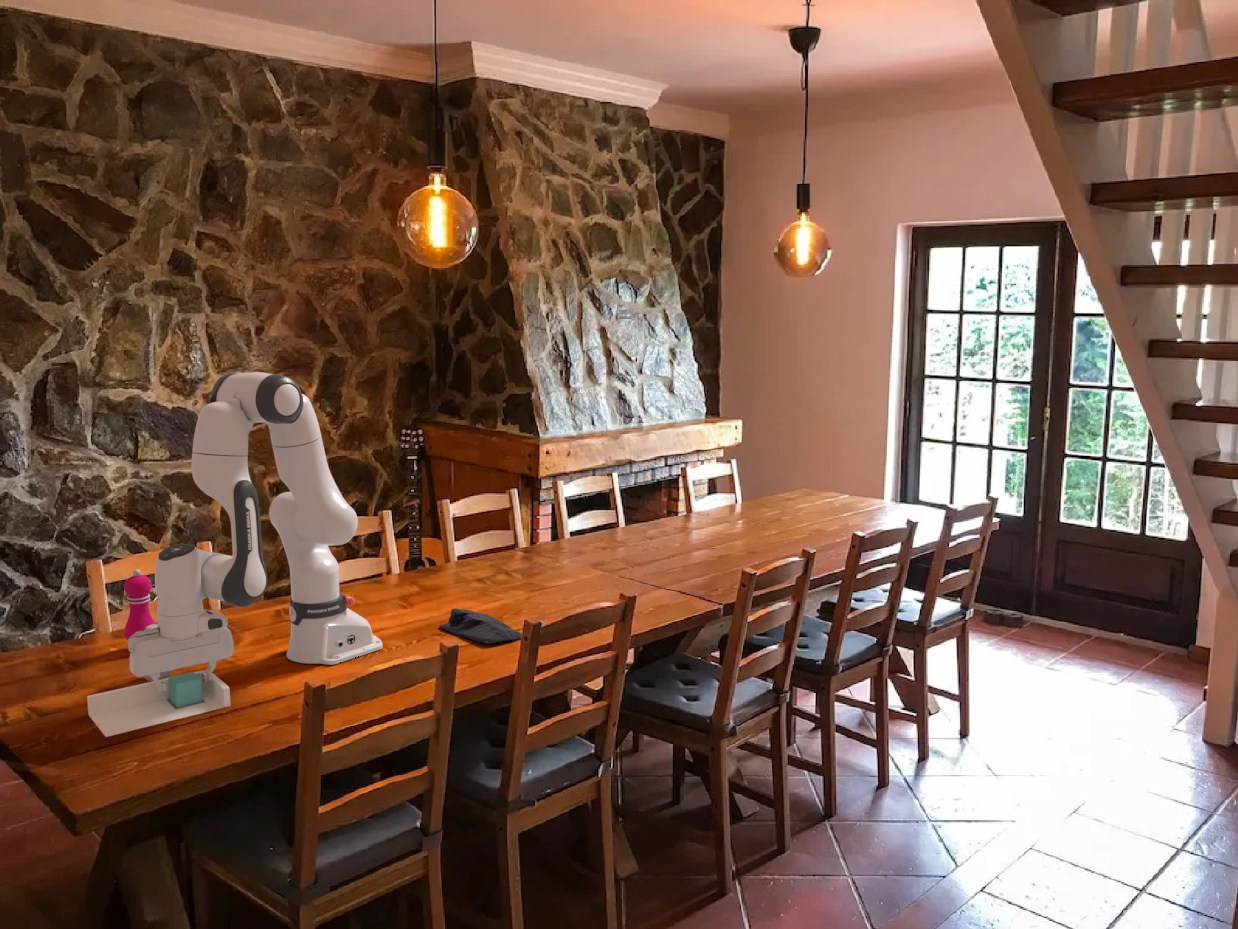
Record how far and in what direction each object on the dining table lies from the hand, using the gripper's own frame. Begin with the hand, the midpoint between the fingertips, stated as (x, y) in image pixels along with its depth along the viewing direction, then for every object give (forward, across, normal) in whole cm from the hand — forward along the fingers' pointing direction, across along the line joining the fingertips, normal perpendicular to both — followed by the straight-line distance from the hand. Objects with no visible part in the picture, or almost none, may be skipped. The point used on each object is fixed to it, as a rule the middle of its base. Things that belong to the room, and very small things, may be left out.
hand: (184, 686), depth 214 cm
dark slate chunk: (+5, +74, +1) cm, 75 cm away
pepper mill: (+4, +2, +40) cm, 40 cm away
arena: (+4, -5, -2) cm, 7 cm away
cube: (+3, 0, 0) cm, 3 cm away
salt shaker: (+4, 0, +17) cm, 18 cm away
